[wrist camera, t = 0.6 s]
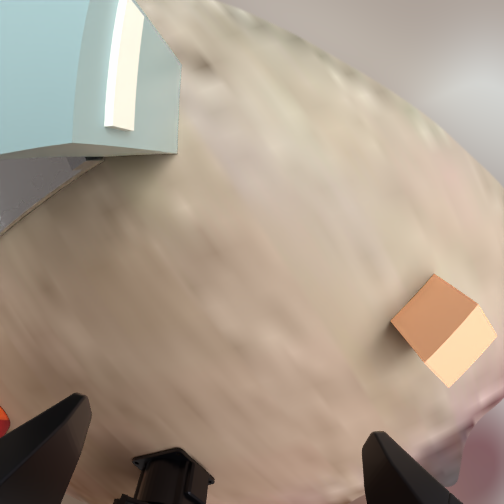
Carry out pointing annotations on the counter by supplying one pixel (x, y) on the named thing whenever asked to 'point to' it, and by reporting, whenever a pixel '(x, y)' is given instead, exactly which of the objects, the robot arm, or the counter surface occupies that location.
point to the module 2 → (444, 329)
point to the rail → (35, 183)
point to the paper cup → (3, 422)
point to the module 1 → (85, 81)
